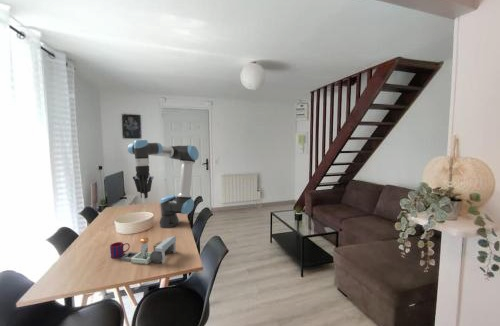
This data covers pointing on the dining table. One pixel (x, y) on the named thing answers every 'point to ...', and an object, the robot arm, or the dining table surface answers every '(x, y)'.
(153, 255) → the grey angle bracket
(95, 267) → the dining table surface
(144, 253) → the stop pin
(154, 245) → the chock
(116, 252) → the mug
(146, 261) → the tray
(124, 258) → the pin socket
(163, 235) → the dining table surface
